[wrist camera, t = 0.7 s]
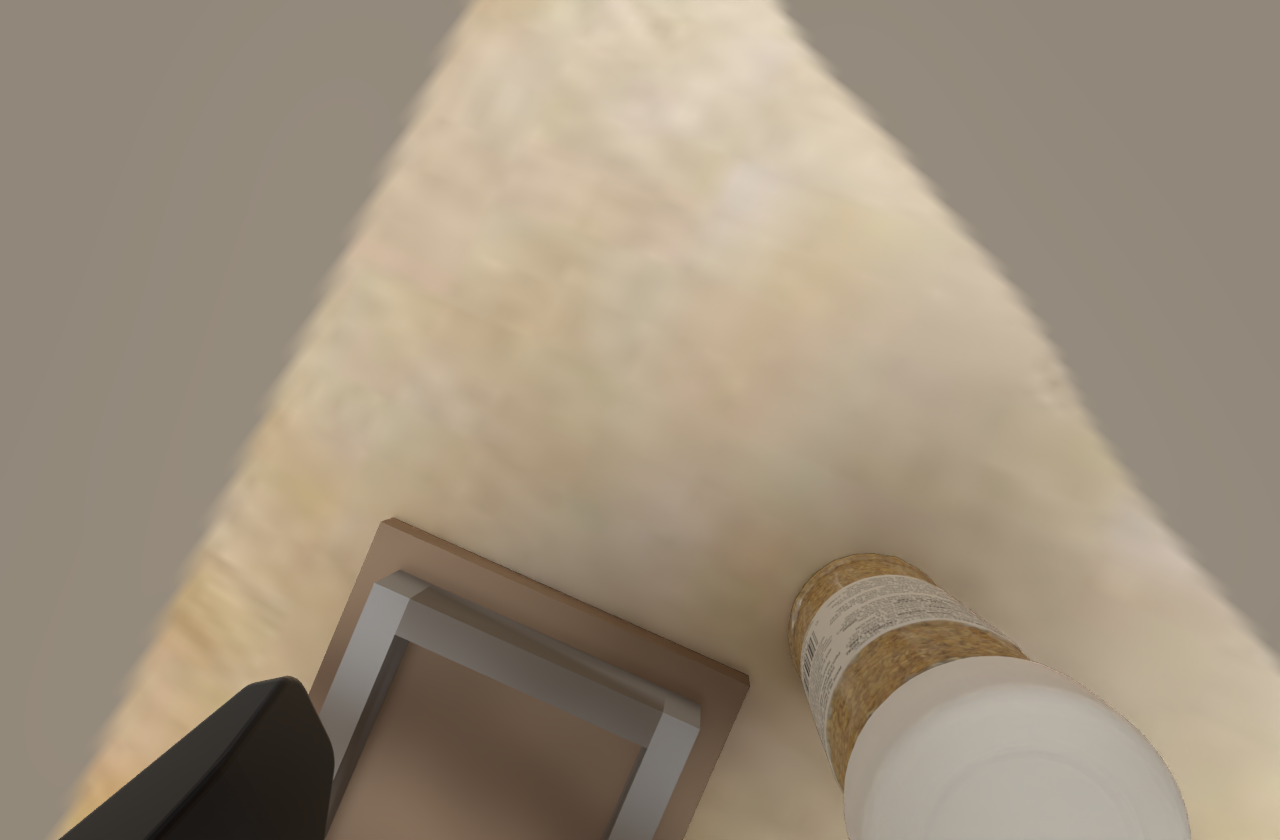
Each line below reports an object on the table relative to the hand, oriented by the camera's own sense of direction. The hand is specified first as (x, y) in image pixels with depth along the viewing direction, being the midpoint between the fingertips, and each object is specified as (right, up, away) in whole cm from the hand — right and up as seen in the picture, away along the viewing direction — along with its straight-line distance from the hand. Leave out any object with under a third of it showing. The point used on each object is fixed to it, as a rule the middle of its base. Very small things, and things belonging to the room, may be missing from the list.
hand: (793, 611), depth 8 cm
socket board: (-6, -8, +19) cm, 21 cm away
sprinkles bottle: (+5, -4, +18) cm, 19 cm away
